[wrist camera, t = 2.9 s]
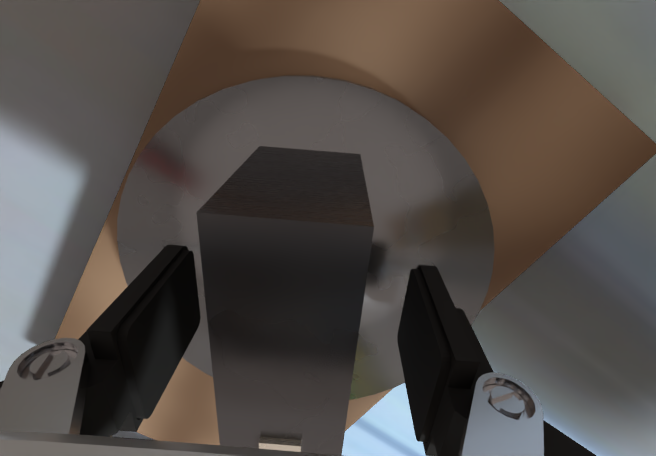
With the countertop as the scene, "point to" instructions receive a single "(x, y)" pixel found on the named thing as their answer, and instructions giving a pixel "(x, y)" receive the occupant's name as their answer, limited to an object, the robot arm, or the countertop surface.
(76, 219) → the countertop surface
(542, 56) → the dial panel
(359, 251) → the dial
